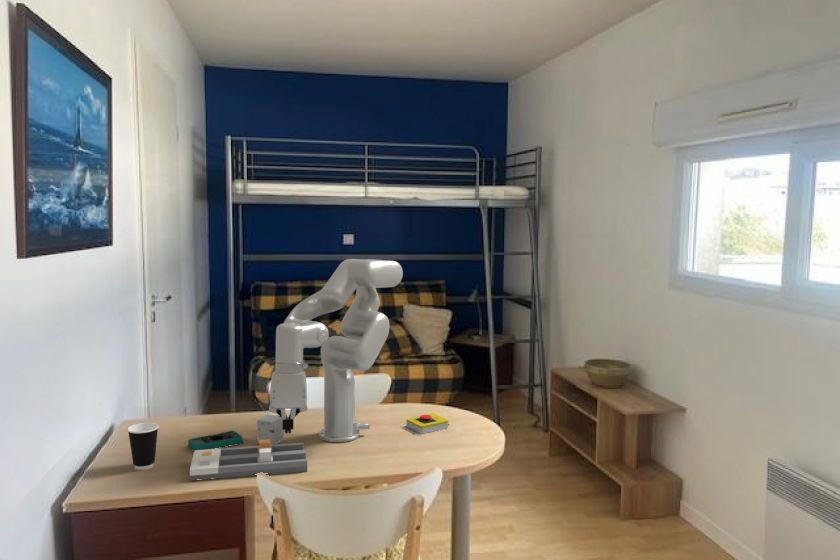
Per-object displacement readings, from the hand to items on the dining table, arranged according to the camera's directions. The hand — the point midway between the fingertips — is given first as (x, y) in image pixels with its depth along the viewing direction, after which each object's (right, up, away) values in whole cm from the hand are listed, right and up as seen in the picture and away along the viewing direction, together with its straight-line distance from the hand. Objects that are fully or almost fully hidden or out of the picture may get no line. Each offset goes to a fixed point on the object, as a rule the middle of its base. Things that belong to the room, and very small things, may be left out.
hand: (287, 431), depth 180 cm
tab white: (-5, -7, -7) cm, 11 cm away
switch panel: (-9, -8, -5) cm, 13 cm away
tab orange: (-6, -6, 0) cm, 9 cm away
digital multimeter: (-24, -7, +11) cm, 27 cm away
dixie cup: (-38, -8, -6) cm, 39 cm away
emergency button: (+40, -6, +30) cm, 50 cm away
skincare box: (-8, -7, +15) cm, 19 cm away
